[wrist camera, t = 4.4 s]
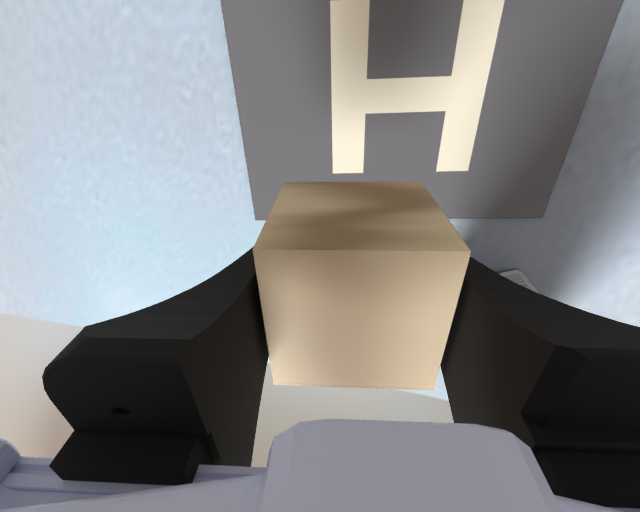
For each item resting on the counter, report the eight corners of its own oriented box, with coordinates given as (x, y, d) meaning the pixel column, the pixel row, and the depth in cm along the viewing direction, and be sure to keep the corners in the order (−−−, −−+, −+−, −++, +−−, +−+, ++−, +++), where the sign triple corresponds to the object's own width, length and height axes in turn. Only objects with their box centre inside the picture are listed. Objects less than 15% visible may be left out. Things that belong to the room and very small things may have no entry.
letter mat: (663, -118, 12) (668, -121, 12) (540, 216, 19) (542, 217, 19) (208, -83, 13) (206, -85, 13) (256, 218, 20) (255, 220, 20)
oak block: (421, 181, 11) (471, 251, 7) (404, 290, 14) (433, 390, 10) (284, 181, 12) (252, 249, 7) (293, 288, 14) (273, 384, 10)
